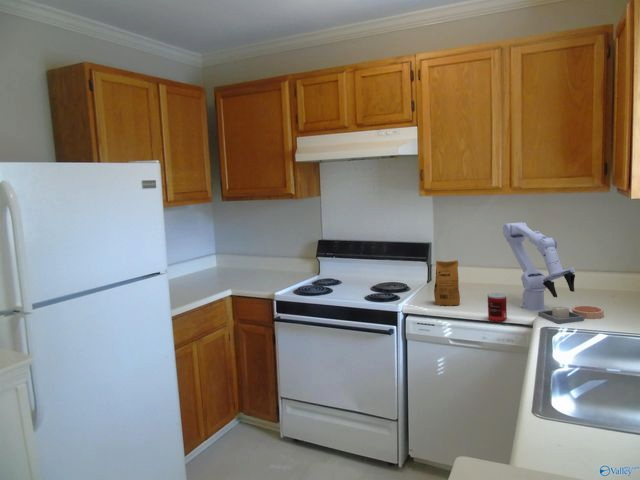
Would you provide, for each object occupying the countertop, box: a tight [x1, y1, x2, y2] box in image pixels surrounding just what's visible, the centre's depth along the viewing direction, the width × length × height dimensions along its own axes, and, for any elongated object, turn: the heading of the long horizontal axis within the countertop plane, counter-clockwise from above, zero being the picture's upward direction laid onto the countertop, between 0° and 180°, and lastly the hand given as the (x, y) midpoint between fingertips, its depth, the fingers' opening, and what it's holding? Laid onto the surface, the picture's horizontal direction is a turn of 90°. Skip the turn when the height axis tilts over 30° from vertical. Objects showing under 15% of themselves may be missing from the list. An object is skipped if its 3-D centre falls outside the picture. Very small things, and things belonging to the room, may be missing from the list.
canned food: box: [487, 292, 508, 323], centre depth 211 cm, size 8×8×11 cm
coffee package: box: [433, 260, 461, 307], centre depth 241 cm, size 10×12×22 cm
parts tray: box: [537, 309, 585, 325], centre depth 205 cm, size 13×12×2 cm
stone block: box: [551, 305, 570, 319], centre depth 205 cm, size 4×5×4 cm
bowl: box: [571, 305, 605, 320], centre depth 208 cm, size 12×12×3 cm
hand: (563, 294), depth 202 cm, fingers open, 7 cm apart
